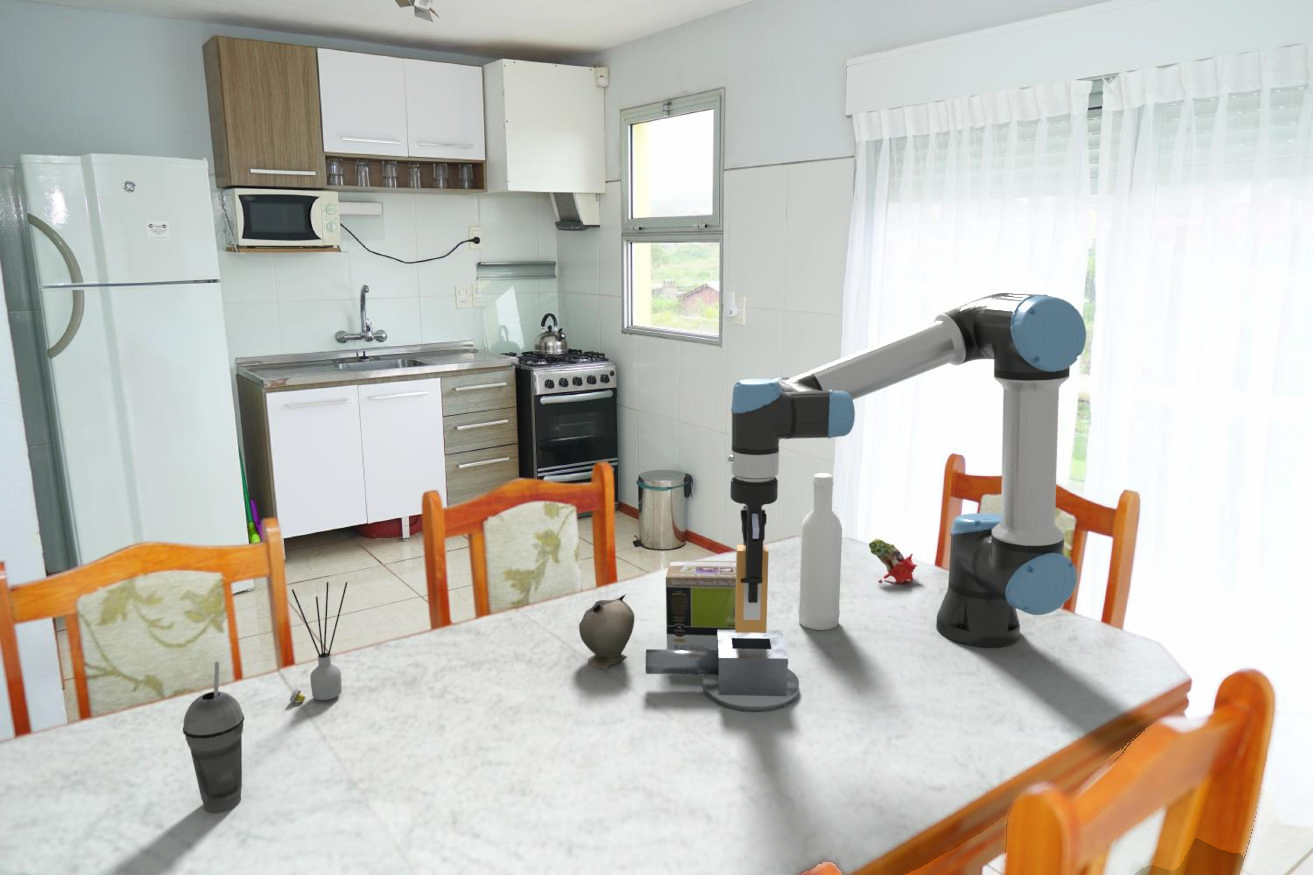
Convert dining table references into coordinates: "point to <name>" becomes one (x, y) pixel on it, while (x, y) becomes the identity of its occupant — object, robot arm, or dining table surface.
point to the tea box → (699, 603)
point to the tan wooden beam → (741, 624)
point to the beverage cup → (216, 747)
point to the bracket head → (736, 670)
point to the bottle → (820, 560)
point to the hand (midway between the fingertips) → (751, 614)
